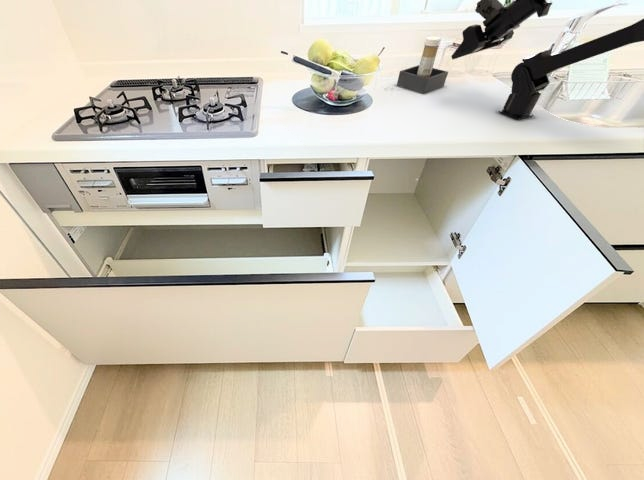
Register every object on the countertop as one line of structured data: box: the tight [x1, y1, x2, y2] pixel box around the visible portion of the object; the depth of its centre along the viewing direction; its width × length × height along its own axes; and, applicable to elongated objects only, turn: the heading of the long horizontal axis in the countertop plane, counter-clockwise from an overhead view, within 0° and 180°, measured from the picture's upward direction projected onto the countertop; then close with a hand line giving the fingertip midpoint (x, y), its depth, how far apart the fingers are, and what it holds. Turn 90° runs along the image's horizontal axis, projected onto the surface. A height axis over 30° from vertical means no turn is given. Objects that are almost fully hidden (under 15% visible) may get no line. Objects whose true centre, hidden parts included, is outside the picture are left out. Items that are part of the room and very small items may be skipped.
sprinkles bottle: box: [417, 35, 442, 78], centre depth 108 cm, size 5×5×13 cm
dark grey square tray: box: [396, 64, 449, 95], centre depth 111 cm, size 11×11×4 cm
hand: (461, 55), depth 100 cm, fingers open, 9 cm apart
